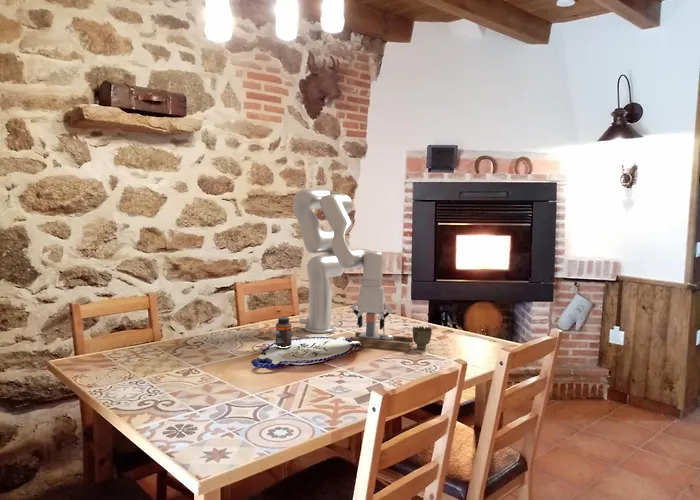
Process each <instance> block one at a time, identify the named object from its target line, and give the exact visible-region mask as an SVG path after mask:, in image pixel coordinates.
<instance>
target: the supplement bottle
mask: <svg viewBox="0 0 700 500" xmlns="http://www.w3.org/2000/svg"><path fill="white" fill-rule="evenodd" d="M277 321H278V322H277V323H276V324H275V346H276V345H277V346H281V347H286V346H290V345H291V346H292V335H293V334H292V329H293V328H292V323H290V317H288V316H279V317H278V320H277Z"/></svg>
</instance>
